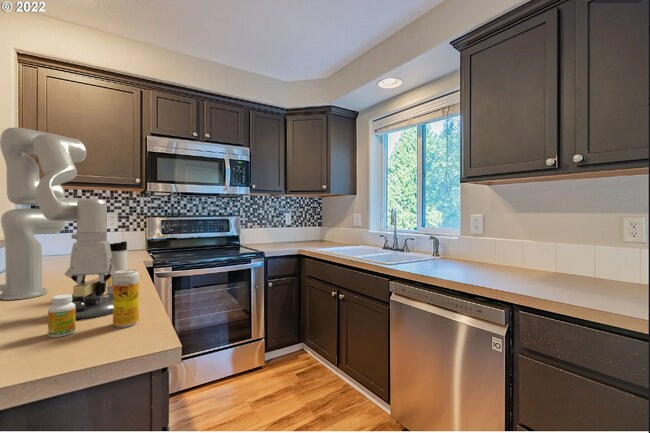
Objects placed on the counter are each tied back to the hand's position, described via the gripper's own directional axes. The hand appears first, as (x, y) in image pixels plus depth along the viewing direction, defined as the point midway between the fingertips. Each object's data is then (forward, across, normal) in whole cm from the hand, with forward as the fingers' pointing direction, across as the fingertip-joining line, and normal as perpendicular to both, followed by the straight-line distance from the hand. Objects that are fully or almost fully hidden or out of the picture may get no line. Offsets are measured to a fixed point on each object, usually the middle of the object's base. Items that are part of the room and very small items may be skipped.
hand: (92, 294), depth 98 cm
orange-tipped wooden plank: (+3, 0, 0) cm, 3 cm away
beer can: (+5, +13, -16) cm, 22 cm away
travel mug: (+5, +2, +18) cm, 19 cm away
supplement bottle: (+5, 0, -19) cm, 20 cm away
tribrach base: (+5, 0, 0) cm, 5 cm away
